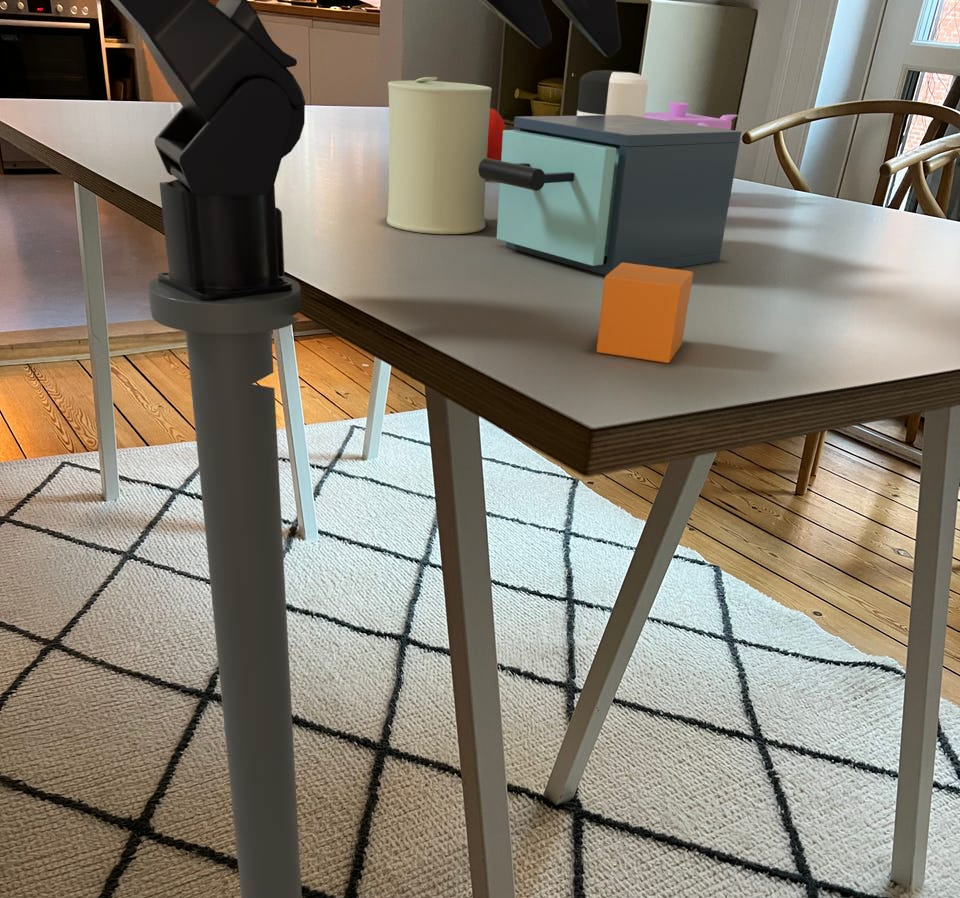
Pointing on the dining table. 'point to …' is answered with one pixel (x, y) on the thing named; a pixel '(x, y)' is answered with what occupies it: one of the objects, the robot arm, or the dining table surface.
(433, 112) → the can
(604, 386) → the dining table surface
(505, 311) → the dining table surface
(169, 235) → the robot arm
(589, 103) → the container
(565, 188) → the drawer
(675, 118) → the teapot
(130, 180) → the dining table surface
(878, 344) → the dining table surface
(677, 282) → the orange rectangular prism
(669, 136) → the small storage cabinet
